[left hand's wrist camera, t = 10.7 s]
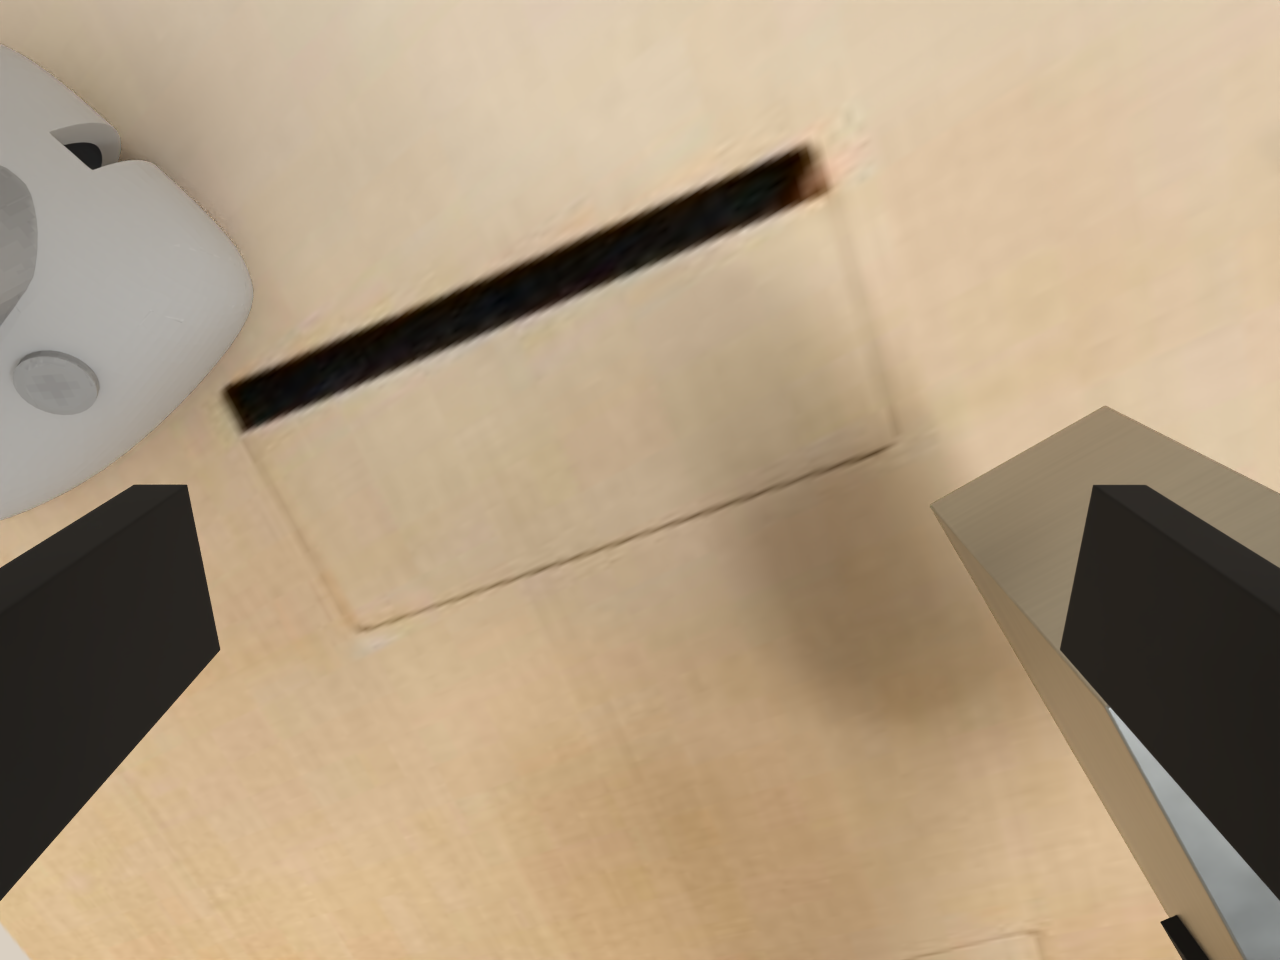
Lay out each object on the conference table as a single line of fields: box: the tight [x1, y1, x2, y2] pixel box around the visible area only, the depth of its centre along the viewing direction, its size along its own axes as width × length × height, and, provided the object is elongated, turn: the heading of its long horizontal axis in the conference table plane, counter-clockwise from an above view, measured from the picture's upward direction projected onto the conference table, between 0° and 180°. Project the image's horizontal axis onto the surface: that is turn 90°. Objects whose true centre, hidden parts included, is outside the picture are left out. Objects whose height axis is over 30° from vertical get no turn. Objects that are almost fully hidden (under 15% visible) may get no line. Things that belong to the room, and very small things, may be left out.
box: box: [930, 406, 1280, 960], centre depth 29 cm, size 25×7×13 cm, turn 33°
